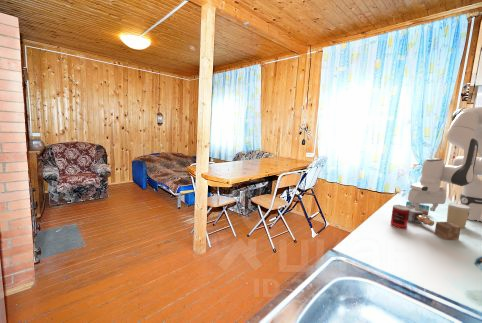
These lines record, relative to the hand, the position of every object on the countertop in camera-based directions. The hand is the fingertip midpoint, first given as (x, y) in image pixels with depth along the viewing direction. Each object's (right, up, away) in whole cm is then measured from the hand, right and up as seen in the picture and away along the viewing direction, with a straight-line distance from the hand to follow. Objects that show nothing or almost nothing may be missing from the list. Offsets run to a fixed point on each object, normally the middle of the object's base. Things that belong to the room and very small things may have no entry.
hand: (424, 210), depth 128 cm
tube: (0, -7, +4) cm, 8 cm away
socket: (+1, -11, -12) cm, 16 cm away
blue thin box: (+13, -6, +23) cm, 27 cm away
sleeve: (-1, -8, +8) cm, 11 cm away
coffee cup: (+21, -10, +4) cm, 23 cm away
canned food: (-15, -9, 0) cm, 17 cm away
